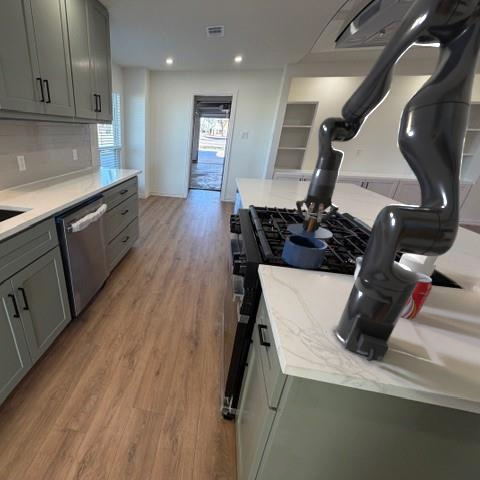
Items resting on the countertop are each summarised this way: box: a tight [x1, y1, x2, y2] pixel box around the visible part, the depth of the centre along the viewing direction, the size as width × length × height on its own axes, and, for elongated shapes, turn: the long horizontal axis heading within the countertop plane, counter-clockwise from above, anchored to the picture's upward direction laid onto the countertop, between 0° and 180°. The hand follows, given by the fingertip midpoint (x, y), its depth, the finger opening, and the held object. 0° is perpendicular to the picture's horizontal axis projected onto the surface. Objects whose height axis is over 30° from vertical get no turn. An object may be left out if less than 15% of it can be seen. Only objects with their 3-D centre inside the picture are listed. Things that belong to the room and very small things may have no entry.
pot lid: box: [286, 215, 333, 240], centre depth 92 cm, size 15×15×6 cm
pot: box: [281, 234, 328, 270], centre depth 96 cm, size 14×14×8 cm
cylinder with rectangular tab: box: [398, 253, 439, 278], centre depth 89 cm, size 9×9×12 cm
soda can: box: [400, 271, 433, 320], centre depth 68 cm, size 7×7×12 cm
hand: (309, 229), depth 92 cm, fingers closed on pot lid, 2 cm apart
